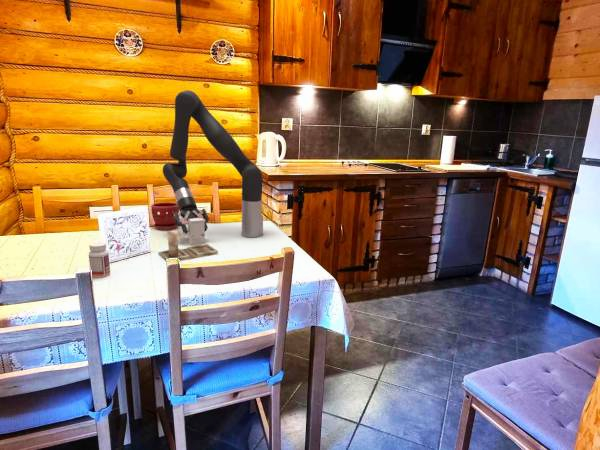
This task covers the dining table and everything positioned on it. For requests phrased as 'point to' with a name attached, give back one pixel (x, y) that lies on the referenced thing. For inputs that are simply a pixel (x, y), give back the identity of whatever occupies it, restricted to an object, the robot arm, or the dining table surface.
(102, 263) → the pill bottle
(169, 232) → the peg
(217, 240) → the dining table surface
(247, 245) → the dining table surface
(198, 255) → the board
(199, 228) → the skincare box
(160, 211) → the plant pot
